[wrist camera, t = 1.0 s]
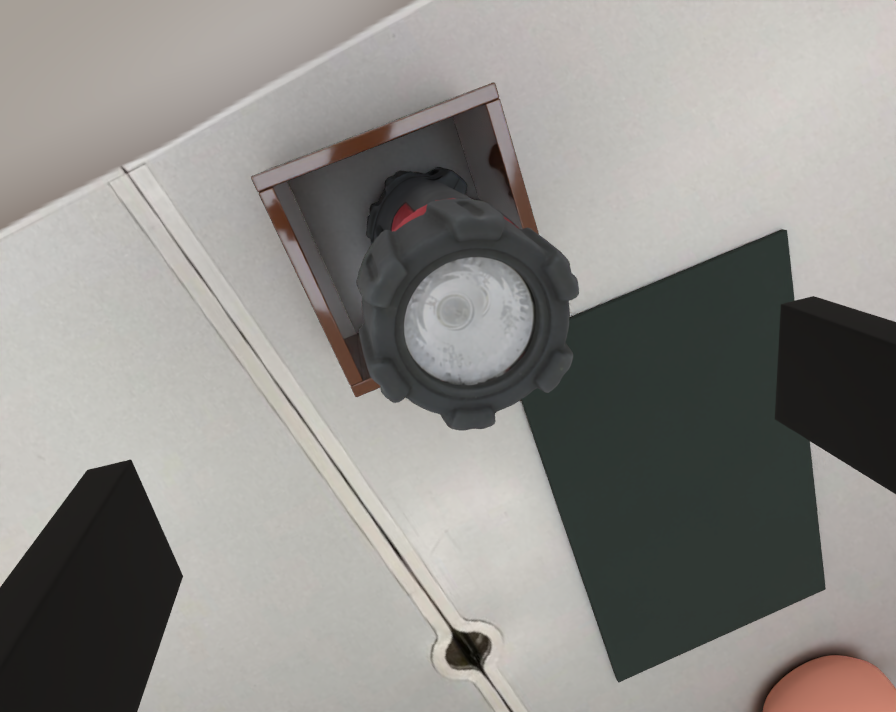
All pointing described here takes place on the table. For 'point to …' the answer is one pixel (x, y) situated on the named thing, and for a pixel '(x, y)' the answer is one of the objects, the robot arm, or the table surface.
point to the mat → (682, 459)
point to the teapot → (833, 688)
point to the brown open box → (471, 114)
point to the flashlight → (460, 302)
